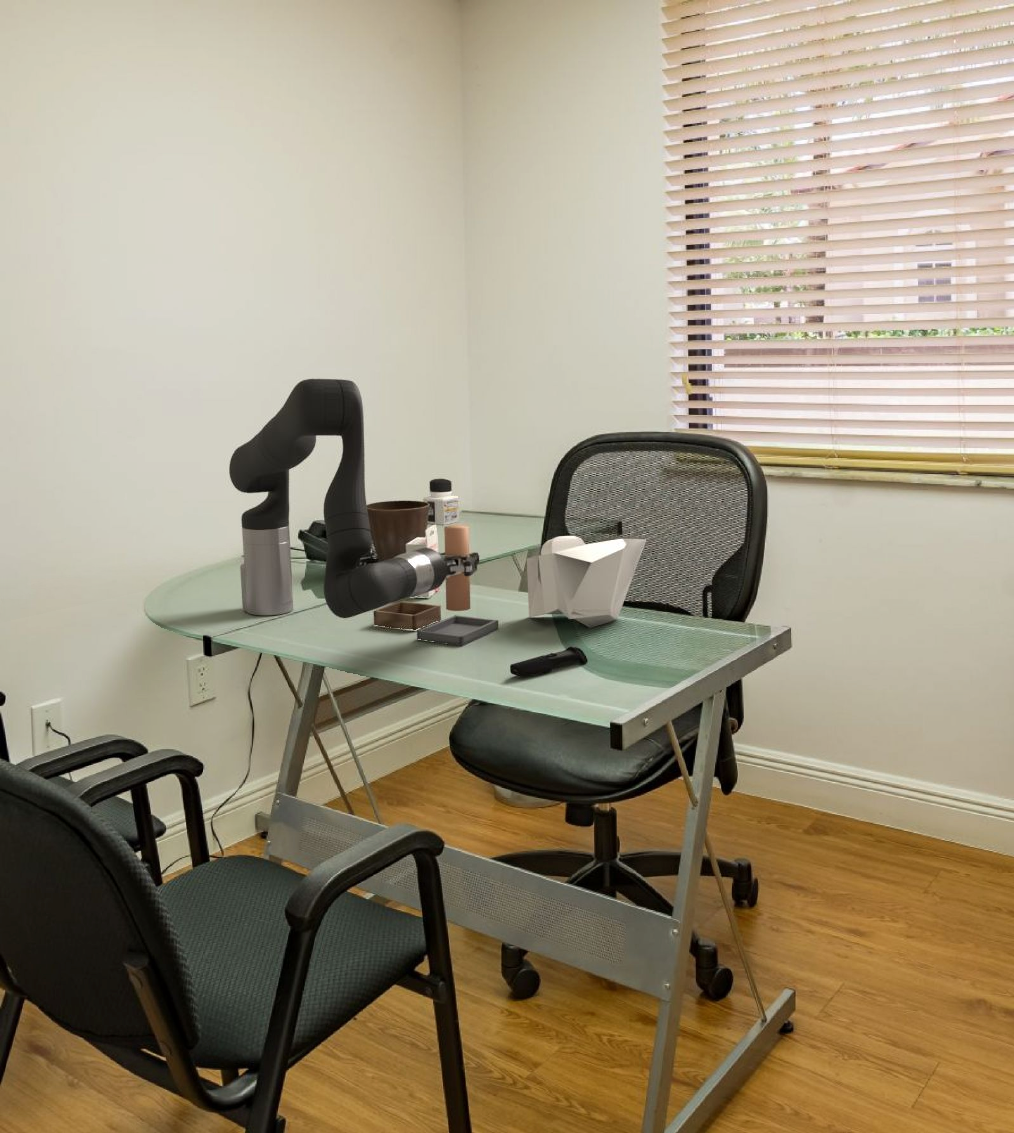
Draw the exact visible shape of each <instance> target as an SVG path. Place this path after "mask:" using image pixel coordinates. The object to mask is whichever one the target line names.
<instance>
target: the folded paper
mask: <svg viewBox="0 0 1014 1133" xmlns="http://www.w3.org/2000/svg"><path fill="white" fill-rule="evenodd" d="M646 542H647V539H645V538H641V539H640V538H618V539H613V540H605V541H600V542H599V541H598V542H594V543H585V542H584V540H583V539H582V538H580V537H578V536H575V535H564V536H563V535H561V536H556V537H553V538H552V539H549V540H547V541H546V542H544V544H542V547H541V549H540V550H541V551H540V555H535V556H531V557H528V558H526V569H527V571H526V572H527V596H528V599H527V600H528V601H527V602H528V618H534V617H539V616H544V615H564V616H565V617H566V618H568V620H571V619H572V620H573V619H574V620H576V621H577V622H579V623H580V624H582V625H584V626H586V627H587V628H589V629H591V628H594V627H597V626H600V625H605V624H607V623H610V622H611V623H612V622H615V621H617V620H618V619H619V616H620V613H621V610H622V607H623V605H624V601H625V600H626V599H625V598H626V597H627V594H628V590H629V589H630V586H631V584H632V581H633V578H634V575H635V571H636V569H637V566H638V565H639V564H638V563H639V562H640V558H641V555H642V553H643V551H644V548H645V546H646Z"/></svg>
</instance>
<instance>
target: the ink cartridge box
mask: <svg viewBox="0 0 1014 1133" xmlns="http://www.w3.org/2000/svg"><path fill="white" fill-rule="evenodd" d="M437 529H438V528H437V524H432V525H431V526H430V527H427V529H426V530H425V534H426V536H425V538H422V537H417V538H415V539H414V540H412V541H411V542H409V543H407V544H406V553H407V552H411V551H414V550H417V549H421V548H430V549H433V550H435V551H436V552H439V536H438V530H437ZM431 533H432V534H431ZM437 590H439V591H440V587H438V588H437V589H435V590H432V591H429V592H426V593H423V594H421V595H418V596H417V597H421V596H422V597H430V596H431V595H433V593H435V592H436V591H437ZM435 594H436V593H435ZM433 596H434V595H433Z"/></svg>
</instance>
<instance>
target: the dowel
mask: <svg viewBox="0 0 1014 1133" xmlns="http://www.w3.org/2000/svg"><path fill="white" fill-rule="evenodd" d="M443 529H444V552H445V555H453V554H458V555H461V556H463V555H468V554H470V531H469V530H470V527H469V526H468V525H464V524H452V525H444V527H443ZM453 560H454V559H453ZM462 564H463V560H462ZM470 581H471V576H464V574H463V571H462V573H461V574H457V575H451V576H450V577H448V578H445V609H446V610H447V611H451V612H452V611H453V612H462V611H463V612H465V611H468V610H471V582H470Z"/></svg>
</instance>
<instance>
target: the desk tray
mask: <svg viewBox="0 0 1014 1133" xmlns="http://www.w3.org/2000/svg"><path fill="white" fill-rule="evenodd" d="M497 630H499V620H498V619H491V618H481V617H472V616H464V615H456V614H455V615H452V616H449V617H447V618H445V619H441V621H440V622H437V623H435V624H432V625H430V626H428V627H425V628H423V629H420V630H418V631H416V639H421V640H427V641H434V642H439V643H438V644H442V643H447V644H446V645H449V644H451V646H457V645H459V646H458V647H463V645H464V646H465V645H468V644H469V643H472V642H474V641H476V640H479V639H481V638H482V637H485V636H487V635H489V634H491V633H494V632H496V631H497ZM427 641H426V642H427ZM434 642H433V643H434ZM467 643H468V644H467Z"/></svg>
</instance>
